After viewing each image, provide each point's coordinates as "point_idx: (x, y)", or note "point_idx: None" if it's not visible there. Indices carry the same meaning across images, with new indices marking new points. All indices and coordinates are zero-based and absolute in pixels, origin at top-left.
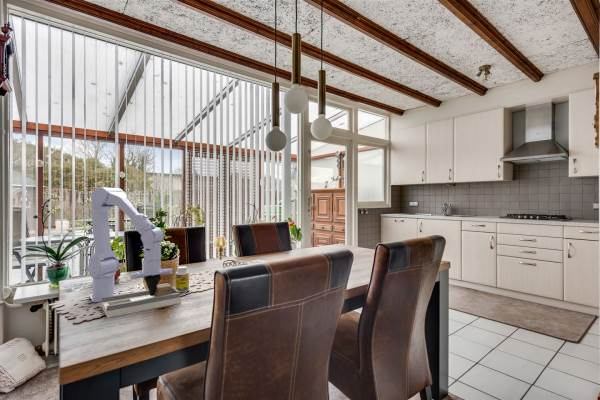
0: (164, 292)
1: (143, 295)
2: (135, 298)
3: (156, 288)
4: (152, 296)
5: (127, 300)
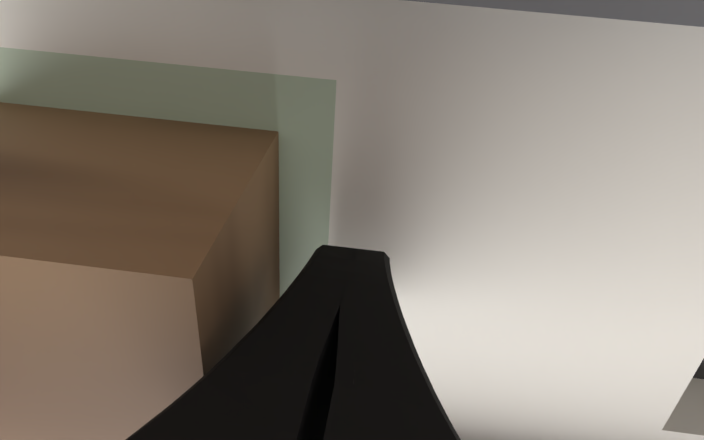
0: (83, 164)
1: None
2: (587, 389)
3: None
4: None
5: (682, 414)
